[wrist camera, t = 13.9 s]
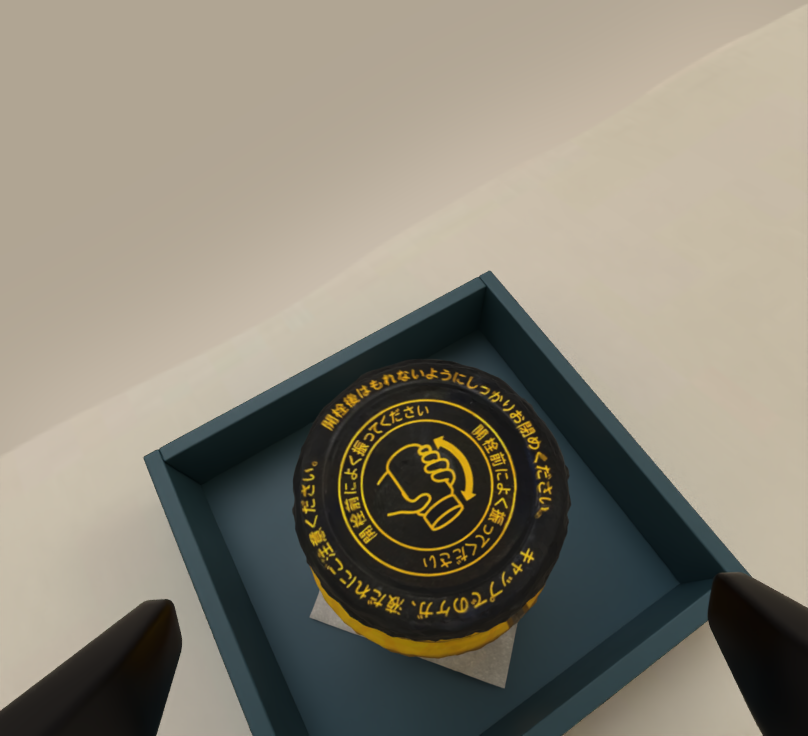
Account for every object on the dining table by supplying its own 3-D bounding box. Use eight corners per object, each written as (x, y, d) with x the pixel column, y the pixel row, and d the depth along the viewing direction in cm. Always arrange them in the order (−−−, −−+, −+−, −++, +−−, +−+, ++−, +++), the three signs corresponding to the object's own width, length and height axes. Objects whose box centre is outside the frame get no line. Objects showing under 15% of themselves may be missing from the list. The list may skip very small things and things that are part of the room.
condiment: (310, 617, 19) (171, 609, 9) (383, 413, 23) (349, 225, 12) (503, 688, 18) (621, 779, 7) (549, 461, 22) (675, 301, 11)
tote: (346, 859, 17) (325, 923, 13) (187, 483, 22) (142, 456, 19) (696, 589, 20) (757, 582, 16) (480, 319, 25) (490, 269, 22)
